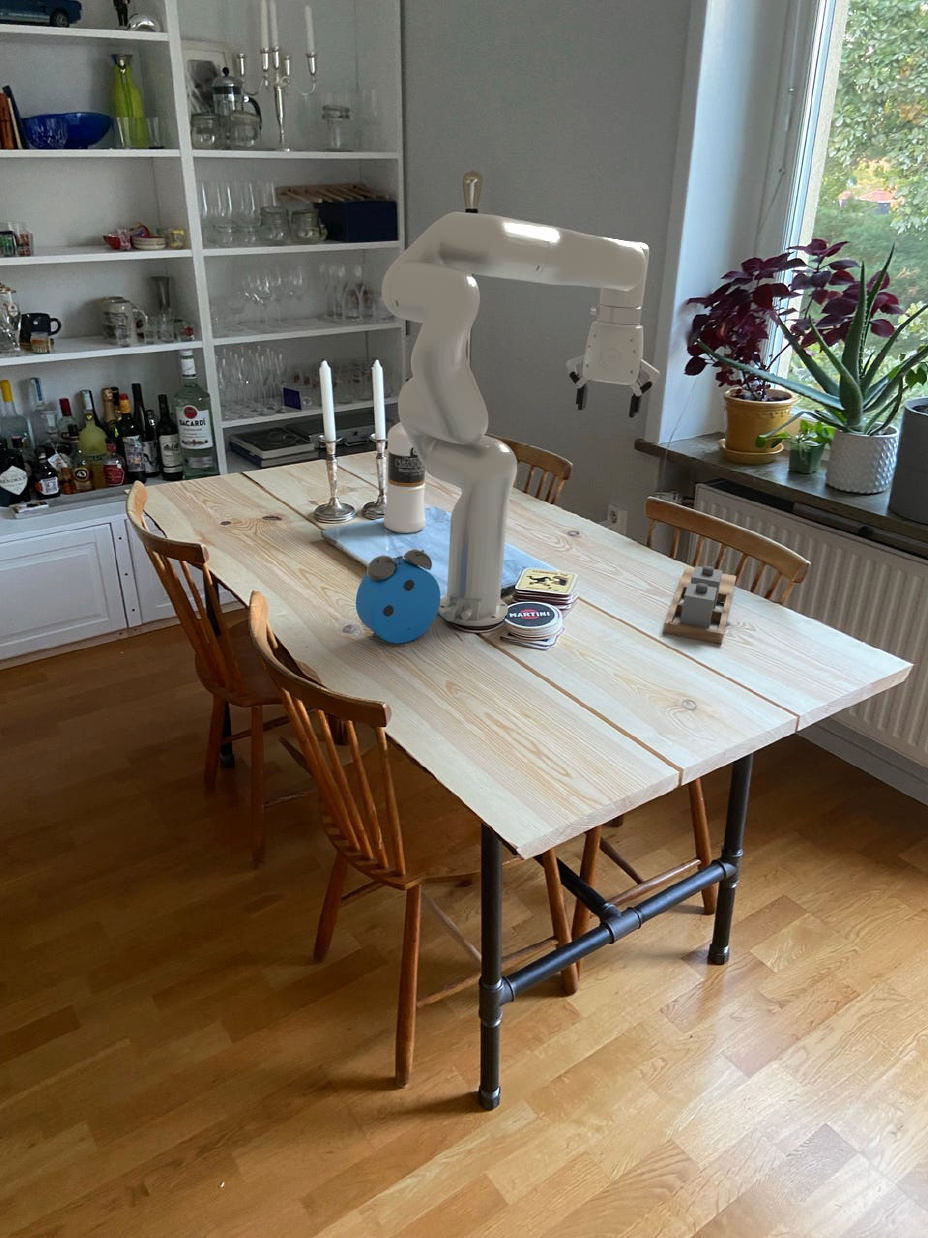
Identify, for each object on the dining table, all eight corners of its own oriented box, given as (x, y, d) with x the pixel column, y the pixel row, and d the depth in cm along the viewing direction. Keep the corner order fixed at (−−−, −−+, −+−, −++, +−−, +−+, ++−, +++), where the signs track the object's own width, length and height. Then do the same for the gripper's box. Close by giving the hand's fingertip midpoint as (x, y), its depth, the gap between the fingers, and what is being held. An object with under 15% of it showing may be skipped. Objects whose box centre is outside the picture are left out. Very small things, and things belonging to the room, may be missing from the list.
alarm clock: (420, 622, 157) (423, 540, 151) (440, 636, 153) (444, 553, 146) (354, 638, 150) (354, 554, 144) (373, 653, 146) (374, 567, 139)
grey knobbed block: (712, 617, 166) (720, 575, 163) (685, 611, 168) (692, 570, 164) (716, 604, 171) (723, 564, 168) (689, 599, 173) (696, 559, 169)
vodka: (415, 518, 206) (420, 384, 193) (432, 531, 198) (438, 393, 185) (377, 522, 202) (379, 385, 189) (392, 536, 194) (396, 395, 181)
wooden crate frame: (721, 644, 156) (724, 629, 155) (663, 632, 159) (665, 618, 158) (734, 585, 180) (737, 572, 179) (683, 576, 183) (686, 563, 182)
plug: (706, 637, 159) (715, 594, 155) (678, 631, 160) (685, 588, 156) (710, 623, 164) (718, 581, 160) (682, 618, 165) (689, 576, 162)
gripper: (566, 313, 160) (556, 409, 168) (663, 323, 155) (649, 423, 162) (577, 309, 167) (567, 402, 174) (671, 319, 161) (656, 415, 169)
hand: (606, 412), depth 168 cm, fingers open, 9 cm apart
